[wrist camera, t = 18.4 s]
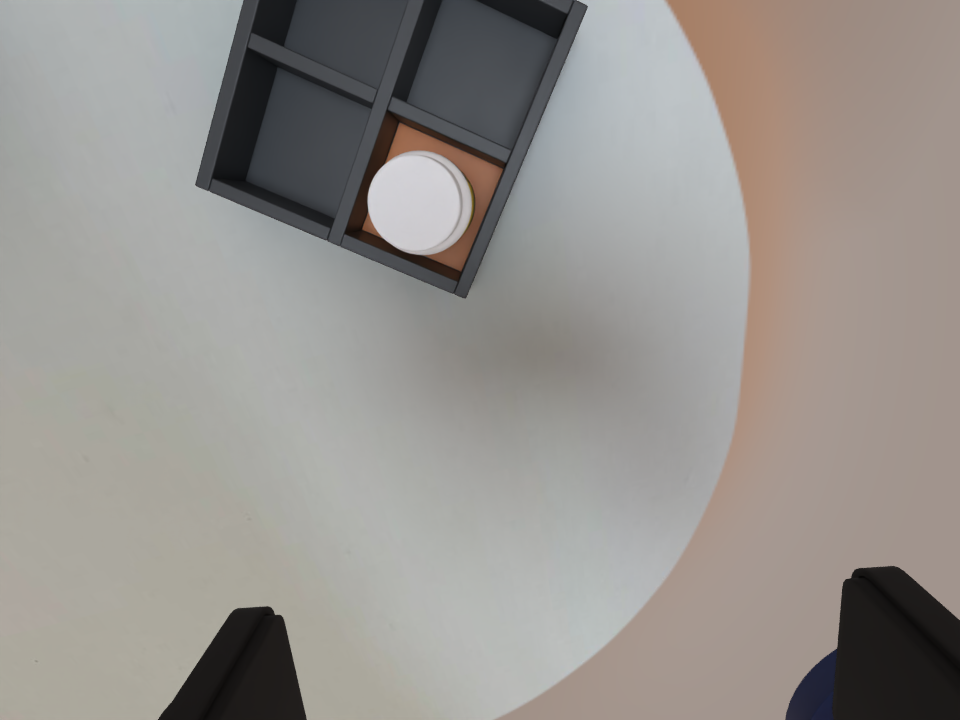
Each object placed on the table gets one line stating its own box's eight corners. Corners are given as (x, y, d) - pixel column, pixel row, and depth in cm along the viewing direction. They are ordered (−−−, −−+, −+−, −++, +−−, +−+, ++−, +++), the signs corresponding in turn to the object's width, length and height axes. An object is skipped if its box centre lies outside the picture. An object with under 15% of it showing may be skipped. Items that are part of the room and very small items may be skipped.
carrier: (573, 34, 29) (588, 5, 25) (468, 286, 33) (465, 299, 29) (312, -91, 28) (280, -145, 24) (234, 187, 32) (194, 185, 28)
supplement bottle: (485, 172, 31) (484, 163, 23) (463, 255, 32) (455, 274, 24) (401, 148, 30) (370, 130, 22) (383, 232, 32) (347, 244, 24)
